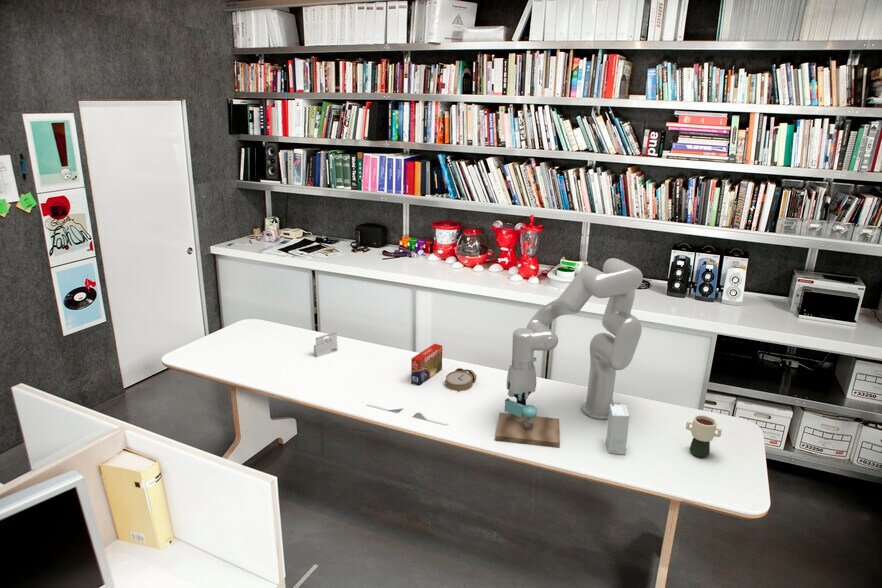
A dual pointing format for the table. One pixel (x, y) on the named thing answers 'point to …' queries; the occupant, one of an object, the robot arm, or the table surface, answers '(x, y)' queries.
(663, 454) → the table surface
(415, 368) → the toy box
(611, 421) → the skincare box
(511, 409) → the teal lever handle
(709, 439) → the character mug
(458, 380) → the alarm clock
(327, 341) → the ink cartridge box
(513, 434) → the post block
